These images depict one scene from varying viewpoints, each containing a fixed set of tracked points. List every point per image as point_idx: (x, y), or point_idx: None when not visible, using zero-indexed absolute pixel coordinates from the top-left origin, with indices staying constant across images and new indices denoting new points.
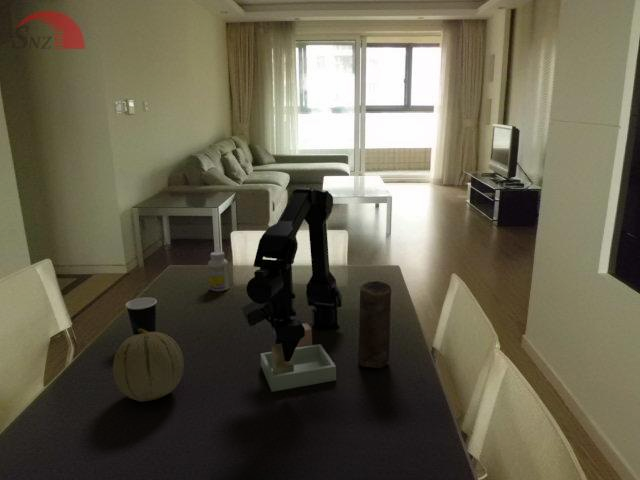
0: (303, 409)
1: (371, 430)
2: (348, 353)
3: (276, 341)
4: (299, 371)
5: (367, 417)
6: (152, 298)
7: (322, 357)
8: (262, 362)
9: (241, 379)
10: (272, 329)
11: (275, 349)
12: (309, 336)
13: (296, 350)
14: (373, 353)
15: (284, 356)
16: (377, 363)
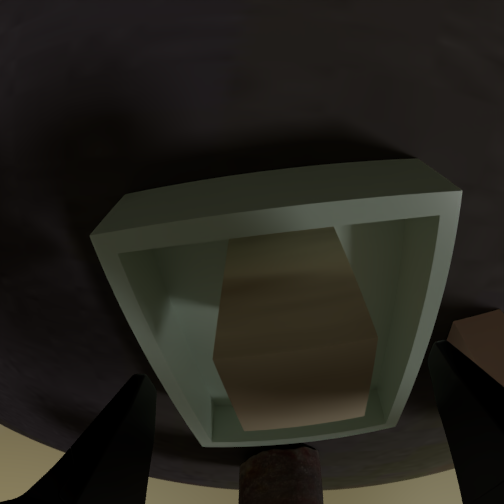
0: (29, 297)
1: (12, 387)
2: None
3: (441, 359)
4: (162, 367)
5: (46, 398)
6: None
7: None
8: (389, 179)
9: (296, 24)
10: (499, 429)
11: (304, 360)
12: None
13: (403, 365)
14: (239, 498)
15: (107, 406)
16: (239, 475)
